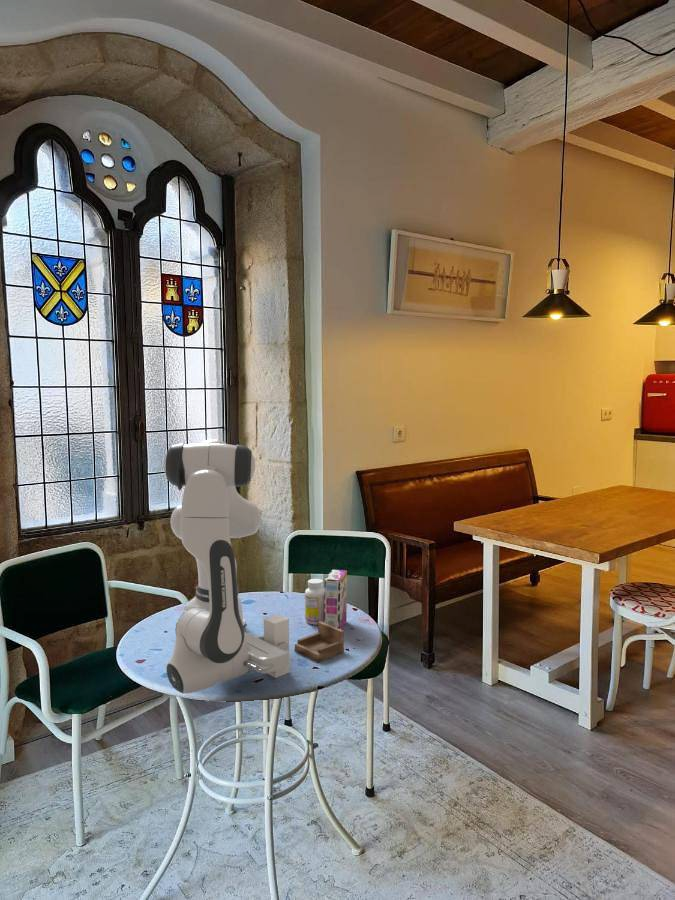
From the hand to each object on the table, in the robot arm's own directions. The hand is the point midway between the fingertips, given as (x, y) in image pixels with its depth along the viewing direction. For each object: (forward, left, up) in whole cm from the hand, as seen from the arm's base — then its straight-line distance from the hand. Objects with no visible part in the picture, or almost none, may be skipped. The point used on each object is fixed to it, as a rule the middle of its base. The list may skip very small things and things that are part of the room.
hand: (279, 641), depth 161 cm
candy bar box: (-11, +30, -8) cm, 33 cm away
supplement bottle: (-19, +29, -8) cm, 36 cm away
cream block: (0, -1, -8) cm, 8 cm away
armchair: (-2, +15, -8) cm, 17 cm away
